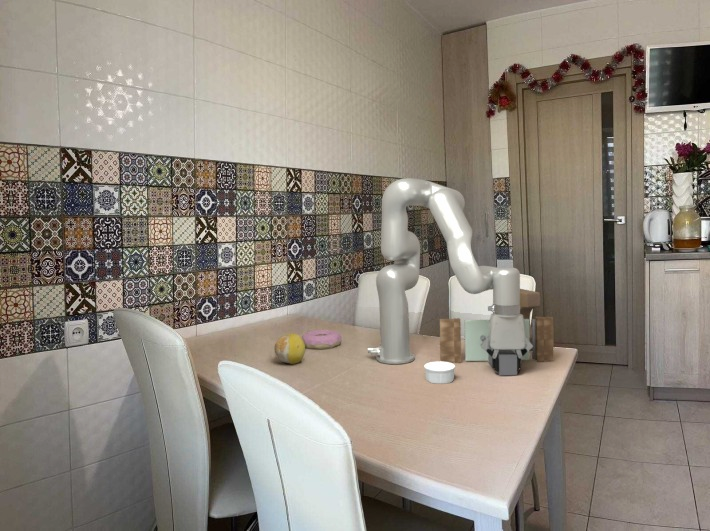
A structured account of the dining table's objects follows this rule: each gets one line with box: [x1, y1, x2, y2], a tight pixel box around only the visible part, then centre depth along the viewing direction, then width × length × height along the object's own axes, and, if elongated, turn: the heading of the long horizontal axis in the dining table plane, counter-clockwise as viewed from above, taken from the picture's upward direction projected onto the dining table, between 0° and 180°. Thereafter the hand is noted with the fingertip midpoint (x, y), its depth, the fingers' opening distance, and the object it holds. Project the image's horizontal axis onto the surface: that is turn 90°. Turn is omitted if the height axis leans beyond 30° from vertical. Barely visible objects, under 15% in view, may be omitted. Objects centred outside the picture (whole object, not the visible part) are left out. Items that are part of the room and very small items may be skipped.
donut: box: [300, 329, 343, 350], centre depth 196 cm, size 16×15×5 cm
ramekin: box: [423, 360, 456, 385], centre depth 150 cm, size 9×9×4 cm
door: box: [464, 318, 536, 362], centre depth 165 cm, size 22×3×13 cm, turn 85°
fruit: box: [274, 333, 306, 365], centre depth 173 cm, size 10×11×10 cm
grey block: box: [488, 344, 518, 376], centre depth 158 cm, size 5×13×6 cm, turn 0°
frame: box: [439, 316, 554, 364], centre depth 166 cm, size 35×2×14 cm, turn 85°
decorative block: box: [520, 288, 541, 352], centre depth 182 cm, size 11×6×20 cm, turn 17°
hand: (506, 370), depth 153 cm, fingers closed on grey block, 5 cm apart
